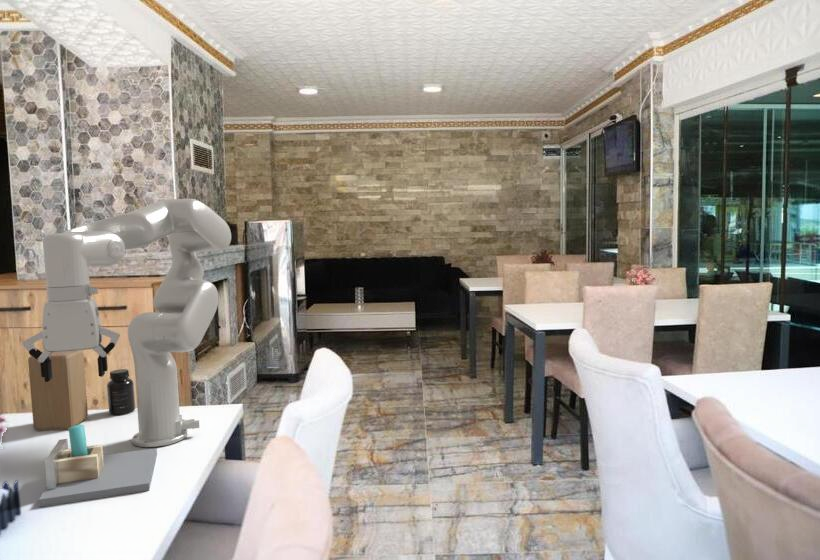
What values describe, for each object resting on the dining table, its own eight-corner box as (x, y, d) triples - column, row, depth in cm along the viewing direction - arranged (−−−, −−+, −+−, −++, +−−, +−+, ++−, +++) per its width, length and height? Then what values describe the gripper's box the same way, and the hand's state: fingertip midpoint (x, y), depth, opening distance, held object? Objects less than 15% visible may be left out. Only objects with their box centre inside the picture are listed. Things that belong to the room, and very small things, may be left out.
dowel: (91, 470, 124) (85, 423, 123) (88, 475, 121) (82, 427, 120) (76, 472, 123) (70, 426, 122) (72, 477, 120) (66, 430, 119)
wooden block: (52, 419, 163) (46, 348, 161) (89, 417, 164) (84, 347, 162) (32, 432, 153) (25, 356, 151) (72, 430, 154) (66, 355, 152)
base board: (157, 454, 136) (156, 448, 136) (149, 490, 117) (148, 483, 117) (63, 467, 130) (63, 460, 130) (39, 507, 111) (38, 499, 111)
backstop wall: (69, 465, 126) (67, 438, 126) (56, 488, 115) (53, 459, 115) (61, 466, 126) (59, 439, 125) (47, 490, 115) (44, 460, 114)
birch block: (103, 464, 126) (102, 444, 126) (98, 477, 120) (96, 456, 119) (66, 469, 124) (65, 449, 124) (58, 483, 117) (57, 461, 117)
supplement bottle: (109, 410, 170) (106, 369, 169) (135, 407, 173) (133, 367, 172) (108, 417, 164) (105, 375, 163) (134, 413, 167) (132, 372, 166)
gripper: (119, 290, 125) (124, 369, 127) (24, 295, 119) (32, 377, 121) (113, 293, 118) (119, 377, 120) (13, 299, 112) (21, 387, 114)
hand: (75, 377), depth 120 cm, fingers open, 9 cm apart
